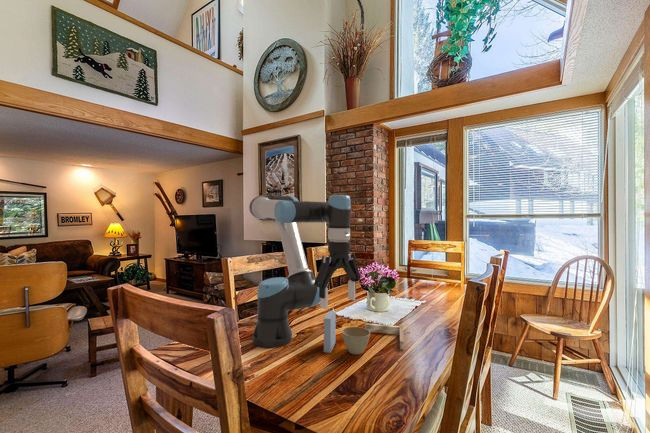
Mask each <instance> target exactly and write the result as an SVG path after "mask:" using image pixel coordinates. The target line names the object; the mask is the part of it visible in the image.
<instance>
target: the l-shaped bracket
mask: <svg viewBox="0 0 650 433" xmlns="http://www.w3.org/2000/svg"><path fill="white" fill-rule="evenodd" d="M364 328H365V329H367V330H369V331H370V333H375V334H377V333H379V334H388V335H398V336H399V350H400V351H405V337H404V336H405V335H404V326H400V325H390V324H389V325H388V324H379V323H378V324H377V323H369V322H368V323H367V322H366V323H365V324H364Z"/></svg>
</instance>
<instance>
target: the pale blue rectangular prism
mask: <svg viewBox="0 0 650 433" xmlns="http://www.w3.org/2000/svg"><path fill="white" fill-rule="evenodd" d="M336 316H337V315H336V311H335V310H329V311H328V312H327V314H326V315H325V317H324V318H323V353H329V354H330V353H332V350H333V349H334V346H335V344H336V334H337V333H336V327H337V326H336V324H337V323H336V322H337V320H336Z"/></svg>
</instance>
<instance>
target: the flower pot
mask: <svg viewBox="0 0 650 433" xmlns="http://www.w3.org/2000/svg"><path fill="white" fill-rule="evenodd" d="M341 333H342V334H341V336H342V339H343V343H344V345H345V347H346V349H347V350H348V352H349V353H350V354H352V355H361V354H363V353H364V351H365V350H366V348H367V346H368V344H369V341H370V336H371V332H370V331H369V330H367V329H365V327H362V326H347V327H344V328H342V330H341Z"/></svg>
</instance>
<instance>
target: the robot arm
mask: <svg viewBox="0 0 650 433" xmlns="http://www.w3.org/2000/svg"><path fill="white" fill-rule="evenodd" d="M248 209H249V213H250V214H251V215H252V216H253V217H254V218H256V219H259V220H264V221H267V220H268V221H273V224H274V226H275V227H277V228H278V230H279V231H278V232H279V235H280V239H281V244H282V249H283V253H284V258H285V261H286V265H287V271H288V276H287V277H284V276H279V277H277V276H275V277H271V278H266V279H264V280H262V281H261V282H259V284H258V285H257V295H256V297H257V320H256V323H255V327H254V330H253V334H252V343H253V344H254V345H255V346H258V347H259V348H260V347H261V348H279V347H282V346H283V347H284V346H285V345H288V344H289V343H290V342H291V341H292V340H293V333H292V328H291V326H290V323H289V320H288V315H289V311H294V310H300V309H306V308H307V309H308V308H311V307H316V306H318V305H319V307H320V308H323V309H326V310H327V309H328V308H329V304H328V303H329V295H328V294H329V288H328V285H329V282H330V280H331V278H332V277H333V275H334V273H335V272H337V270H340V269H343V271H344V272H345V274H346V275H347V277H348V279H349V280H348V281H347V286H348V287H347V289H348V290H347V299H348V300H350V301H356V290H357V282H359V279H361V275H360V274H361V273H360V271H359V268H358V265H357V262H356V255H355V253H351V242H350V240H351V219H352V218H351V214H352V205H351V197H350V196H349V195H347V194H331V195H329V197H328V201H310V200H309V201H306V200H305V201H303V200H300V201H299V199H298V198H297V197H295V196H292V195H291V196H290V195H273V194H262V195H261V194H260V195H258V196H255V197H253V199H251V201H250V203H249V206H248ZM298 223H323V224H324V223H327V224H328V225H327V228H328V229H327V236H328V237H327V239H328V240H329V241H328V242H327V252H328V253H329V256H325V255H323V256H322V257H321V263H320V267H319V269H318V271H317V274H316V276H315V274H314V272H313V270H312V269H309V265H308V261H307V257H306V254H305V250H304V247H303V243H302V238H301V235H300V231H299V227H298Z"/></svg>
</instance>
